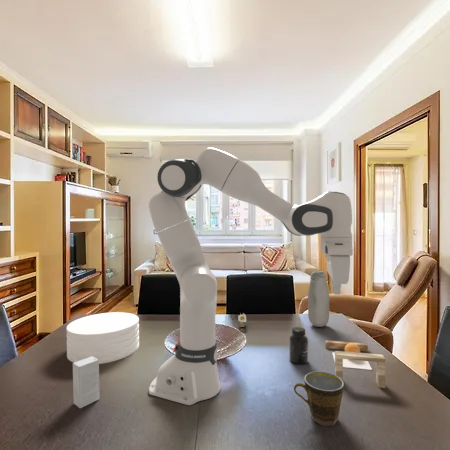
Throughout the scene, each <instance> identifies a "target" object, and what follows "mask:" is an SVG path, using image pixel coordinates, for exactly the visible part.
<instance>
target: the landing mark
mask: <svg viewBox="0 0 450 450" xmlns="http://www.w3.org/2000/svg"><path fill="white" fill-rule="evenodd" d="M332 357H333V361H334V362H335V351H334V352H333V351H332ZM345 368H346V369H353V370H356V369H357V370H368V371H372V370H373V368H372V367H371V365H370V363H369V361H361V360H349V359H343V369H345Z"/></svg>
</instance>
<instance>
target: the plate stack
mask: <svg viewBox="0 0 450 450" xmlns="http://www.w3.org/2000/svg"><path fill="white" fill-rule="evenodd" d="M139 322H140V318H139V316H138V315H136V314H134V313H131V312H123V311H119V312H118V311H116V312H115V311H114V312H113V311H111V312H101V313H96V314H90V315H87V316H84V317H83V316H82V317H79V318H78V319H75V320H73V321H71V322H70V323H68V324H67V325H66V357H67V360H68V361H70V362H71V363H75V362H77V361H80V360H83V359H86V358H88V357H91V356H93V357H95V358H96V359H98V360H99V365H101V364H106V363H107V364H109V363H111V362H115V361H118V360H121V359H124V358H127V357H128V356H131V355H132V354H134V353H135V352H137V350H138V349H139V347H140V323H139Z"/></svg>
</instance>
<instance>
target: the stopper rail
mask: <svg viewBox="0 0 450 450" xmlns="http://www.w3.org/2000/svg"><path fill="white" fill-rule="evenodd" d="M348 343H354V344H356V345H357V346H358V347H359V349H360V352H365V353H366V352H367V353H368V352H369V347H368V346H369V345H368V344H367V343H364V342H350V341H340V340H339V341H337V340H326V339H325V346H324V347H325V348H326V349H329V350H330V349H331V350H332V349H333V350H341V351H345V346H346V345H347V344H348Z"/></svg>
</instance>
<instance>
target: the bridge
mask: <svg viewBox="0 0 450 450" xmlns="http://www.w3.org/2000/svg"><path fill="white" fill-rule="evenodd" d="M334 352H335V361H334V375H336V376H338V377H339V378H340V379H341V380H342V381H343V382H344V376H343V375H344V367H343V359H349V360H361V361H368V362H374V363H375V383H376V385H377V387H378V388H380V389H386V358H385V356H384V355H383V354H378V353H368V352H367V353H366V352H360V353H356V352H345V350H334Z"/></svg>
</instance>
